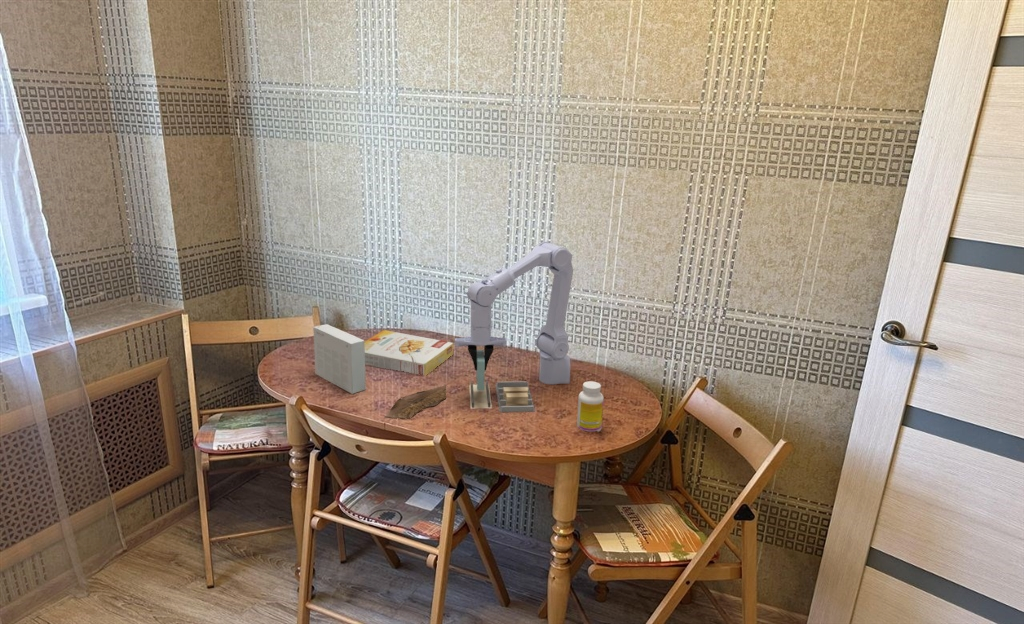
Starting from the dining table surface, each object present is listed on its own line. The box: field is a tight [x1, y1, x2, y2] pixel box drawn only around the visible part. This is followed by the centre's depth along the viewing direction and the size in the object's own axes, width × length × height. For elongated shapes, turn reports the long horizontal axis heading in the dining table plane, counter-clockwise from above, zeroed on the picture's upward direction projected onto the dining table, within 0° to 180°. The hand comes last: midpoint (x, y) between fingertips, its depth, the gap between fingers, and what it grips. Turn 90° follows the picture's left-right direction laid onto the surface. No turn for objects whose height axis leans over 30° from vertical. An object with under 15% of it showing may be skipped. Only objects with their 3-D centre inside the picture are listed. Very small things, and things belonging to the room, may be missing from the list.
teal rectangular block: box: [475, 349, 486, 390], centre depth 179 cm, size 8×2×9 cm, turn 5°
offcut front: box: [506, 393, 528, 406], centre depth 175 cm, size 6×2×4 cm, turn 95°
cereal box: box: [364, 329, 454, 376], centre depth 210 cm, size 20×6×28 cm
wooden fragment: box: [384, 385, 447, 420], centre depth 180 cm, size 26×11×1 cm, turn 143°
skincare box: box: [312, 323, 367, 395], centre depth 189 cm, size 21×5×16 cm, turn 47°
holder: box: [468, 380, 493, 410], centre depth 182 cm, size 6×16×2 cm, turn 5°
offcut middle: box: [503, 387, 528, 400], centre depth 178 cm, size 7×2×4 cm, turn 95°
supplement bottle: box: [576, 380, 605, 433], centre depth 165 cm, size 7×7×13 cm
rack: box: [495, 380, 536, 413], centre depth 182 cm, size 10×19×2 cm, turn 5°
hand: (480, 369), depth 179 cm, fingers closed on teal rectangular block, 2 cm apart
